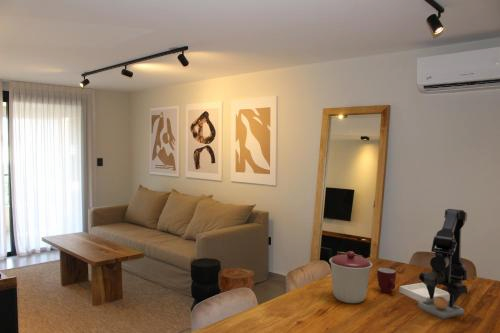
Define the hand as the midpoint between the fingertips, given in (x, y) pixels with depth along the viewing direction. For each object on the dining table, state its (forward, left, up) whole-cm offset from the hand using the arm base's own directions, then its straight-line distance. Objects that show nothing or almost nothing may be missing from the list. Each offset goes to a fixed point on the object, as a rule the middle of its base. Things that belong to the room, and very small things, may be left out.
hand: (441, 302), depth 159 cm
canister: (+28, -23, -4) cm, 37 cm away
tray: (0, 0, -3) cm, 3 cm away
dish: (-7, -14, -3) cm, 16 cm away
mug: (+6, -23, -4) cm, 25 cm away
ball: (0, 0, 0) cm, 0 cm away
